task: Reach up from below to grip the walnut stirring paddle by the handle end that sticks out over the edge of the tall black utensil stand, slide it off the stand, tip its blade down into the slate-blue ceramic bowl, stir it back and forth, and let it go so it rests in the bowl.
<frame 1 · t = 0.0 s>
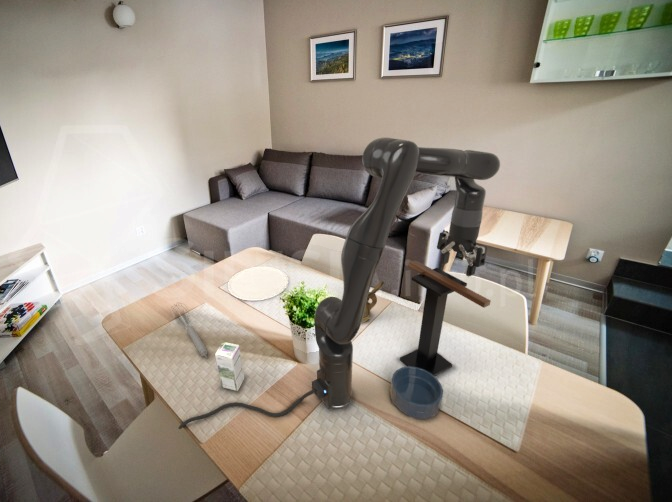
hand: (456, 269, 101), 29 cm above the table, tool pointing down, fingers open, 8 cm apart
syrup box: (233, 383, 105), on the table
stirring paddle: (444, 283, 90), point 32 cm above the table, touching utensil stand
utensil stand: (425, 363, 105), on the table
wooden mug: (363, 317, 128), on the table
plate: (258, 284, 156), on the table
kitchen whisk: (191, 332, 128), on the table
bowl: (414, 399, 94), on the table
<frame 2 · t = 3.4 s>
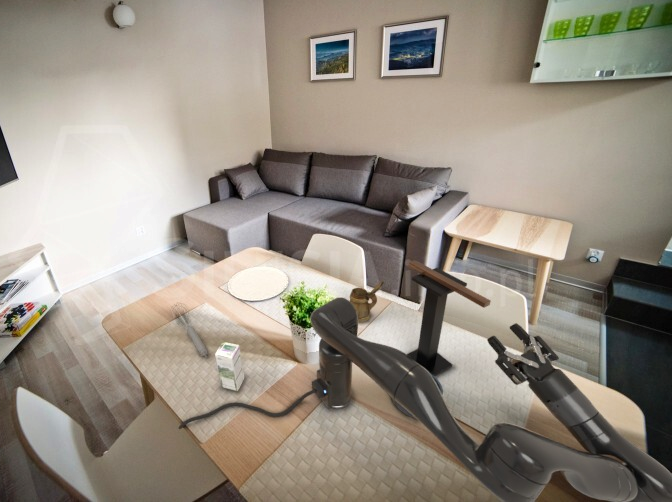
hand: (501, 331, 79), 27 cm above the table, tool pointing upward, fingers open, 8 cm apart
nothing on the table moved.
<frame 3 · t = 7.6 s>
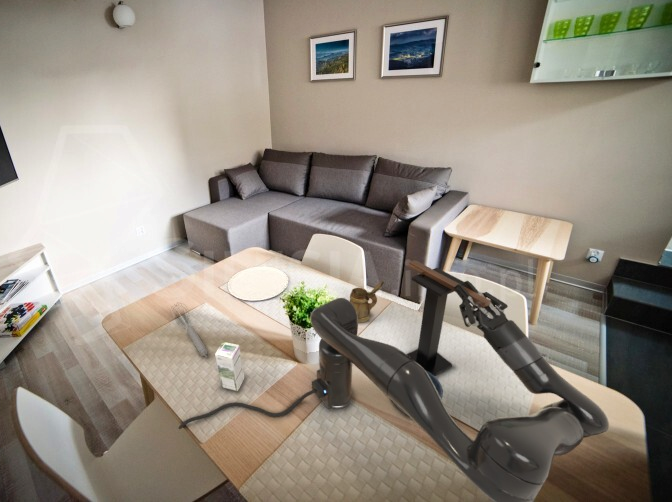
hand: (460, 284, 86), 34 cm above the table, tool pointing upward, fingers closed on stirring paddle
stirring paddle: (444, 283, 90), point 32 cm above the table, touching gripper, utensil stand
everything else where it was.
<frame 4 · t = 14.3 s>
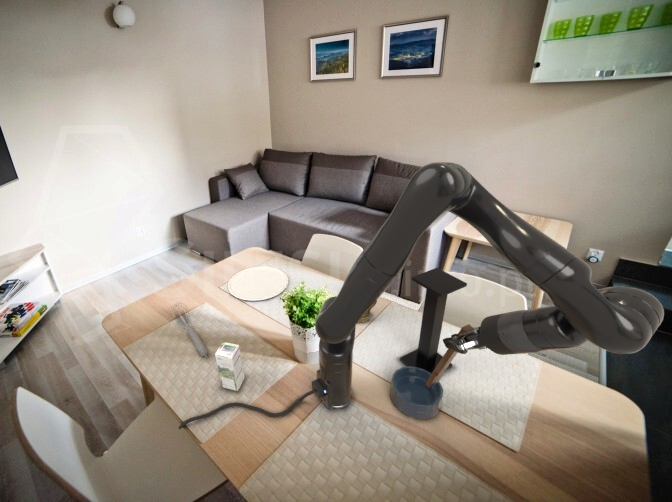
hand: (449, 341, 77), 28 cm above the table, tool tilted 45°, fingers closed on stirring paddle
stirring paddle: (450, 360, 78), point 22 cm above the table, tilted 75°, touching gripper
everything else where it was.
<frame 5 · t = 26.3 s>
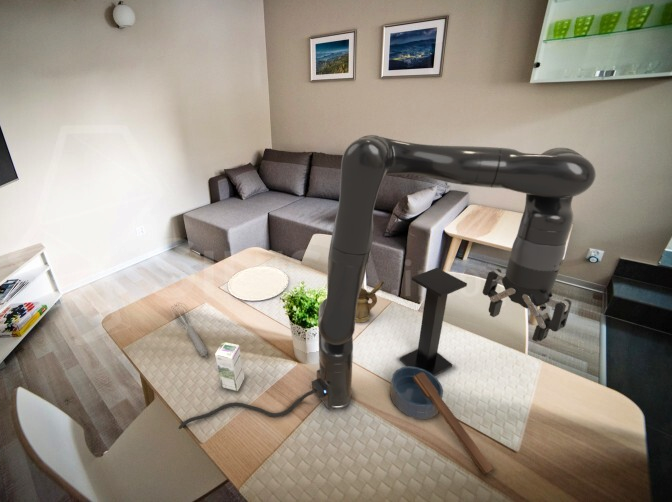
hand: (514, 326, 68), 36 cm above the table, tool pointing down, fingers open, 8 cm apart
stirring paddle: (448, 419, 84), point 4 cm above the table, tilted 22°, touching bowl
everything else where it was.
at the end: stirring paddle touching bowl, table; stirring paddle inside the target area on the bowl (8.0 cm from its centre), point 4.4 cm above the bowl's base; stirring paddle point 4.4 cm above the table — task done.
